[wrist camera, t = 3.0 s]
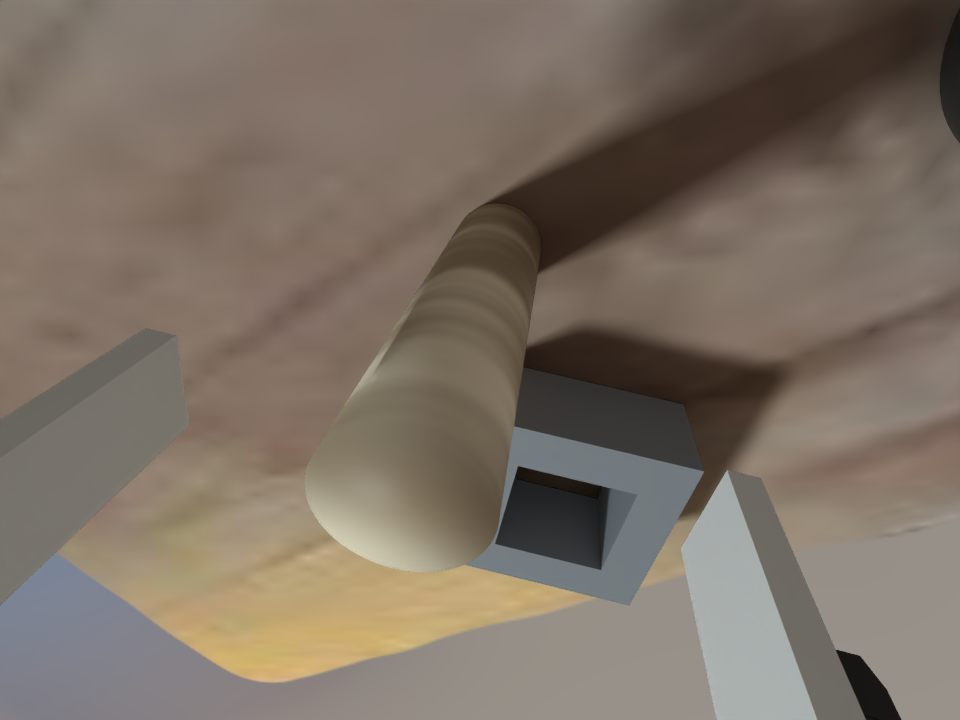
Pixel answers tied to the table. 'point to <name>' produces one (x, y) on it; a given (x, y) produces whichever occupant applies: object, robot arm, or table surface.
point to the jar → (951, 79)
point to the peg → (436, 408)
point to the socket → (597, 460)
